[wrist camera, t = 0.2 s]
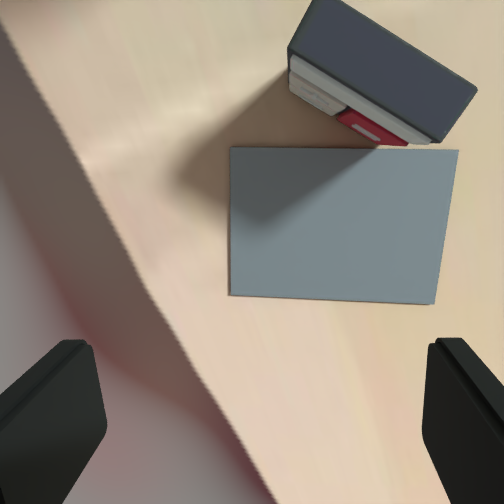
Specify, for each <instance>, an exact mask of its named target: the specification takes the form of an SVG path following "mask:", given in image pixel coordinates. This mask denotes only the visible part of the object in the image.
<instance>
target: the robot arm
mask: <svg viewBox="0 0 504 504" xmlns="http://www.w3.org/2000/svg"><path fill="white" fill-rule="evenodd" d="M106 429H107V419H106V414H105V409H104V404H103V399H102V393H101V388H100V383H99V378H98V373H97V368H96V363H95V358H94V353H93V349H92V347H91V345H87V343H86V341H85V340H62V341H60V342H59V343H58V344H57V345H56V346H55V347H54V348H53V349H51V350H50V351H49V352H48V353H47V354H46V355H45V356H44V357H42V358H41V359H40V360H39V361H38V362H37V363H36V364H34V366H32V367H31V368H30V369H29V370H28V371H26V372H25V373H24V374H23V375H22V376H21V377H20V378H19V379H17V380H16V381H15V382H14V383H13V384H12V385H11V386H10V387H8V388H7V389H6V390H5V391H4V392H3V393H2V394H1V395H0V504H62V503H63V501H64V500H65V498H66V497H67V495H68V493H69V492H70V490H71V489H72V487H73V486H74V484H75V482H76V481H77V479H78V478H79V476H80V474H81V473H82V471H83V469H84V468H85V466H86V465H87V463H88V461H89V460H90V458H91V457H92V455H93V454H94V452H95V450H96V449H97V447H98V446H99V444H100V442H101V441H102V439H103V438H104V436H105V433H106ZM422 436H423V441H424V444H425V446H426V448H427V451H428V453H429V455H430V457H431V460H432V462H433V464H434V466H435V469H436V471H437V473H438V475H439V478H440V480H441V482H442V485H443V487H444V489H445V491H446V494H447V496H448V498H449V500H450V503H451V504H504V386H503V385H502V383H501V382H500V381H499V380H498V379H497V378H496V377H495V375H494V374H493V373H492V372H491V371H490V370H489V368H488V367H487V366H486V365H485V364H484V363H483V362H482V360H481V359H480V358H479V357H478V356H477V355H476V353H475V352H474V351H473V350H472V349H471V348H470V346H469V345H468V344H467V343H466V342H465V341H464V340H463V339H462V338H437V339H436V341H435V343H430V344H429V346H428V355H427V368H426V381H425V393H424V406H423V419H422Z"/></svg>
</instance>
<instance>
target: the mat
mask: <svg viewBox="0 0 504 504" xmlns="http://www.w3.org/2000/svg"><path fill="white" fill-rule="evenodd" d="M458 152H459V150H432V149H352V148H271V147H230V230H231V295H244V296H265V297H287V298H308V299H329V300H350V301H372V302H393V303H414V304H434V303H435V297H436V290H437V284H438V278H439V272H440V265H441V259H442V253H443V246H444V240H445V234H446V228H447V221H448V215H449V209H450V203H451V196H452V190H453V184H454V177H455V171H456V165H457V159H458Z"/></svg>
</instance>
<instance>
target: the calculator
mask: <svg viewBox="0 0 504 504" xmlns="http://www.w3.org/2000/svg"><path fill="white" fill-rule="evenodd" d="M287 59H288V83H289V90H290V91H291V92H292V93H294V94H295V95H297V96H299V97H300V98H302V99H303V100H305V101H307V102H308V103H310V104H312V105H313V106H315V107H316V108H318V109H320V110H321V111H323V112H325V113H326V114H328V115H330V116H332V115H334V114H336V113H337V114H339V116H338V118H337V120H338V121H340V122H341V123H343V124H344V125H346V126H348V127H349V128H351V129H353V130H354V131H356V132H357V133H359V134H361V135H362V136H364V137H366V138H367V139H369V140H371V141H372V142H374V143H376V144H378V145H392V146H407V145H408V144H409V143H410V144H417V145H429V144H430V143H441V142H442V141H443V139H444V138H445V137H446V135H447V134H448V132H449V131H450V130H451V128H452V127H453V125H454V124H455V123H456V121H457V120H458V118H459V117H460V116H461V114H462V113H463V111H464V110H465V109H466V107H467V106H468V104H469V103H470V101H471V100H472V99H473V97H474V96H475V94H476V93H477V91H478V89H477V87H476V86H474V85H473V84H472V83H470V82H468V81H467V80H465V79H464V78H462V77H461V76H459V75H457V74H456V73H454V72H453V71H451V70H450V69H448V68H446V67H445V66H443V65H442V64H440V63H439V62H437V61H435V60H434V59H432V58H431V57H429V56H428V55H426V54H424V53H423V52H421V51H420V50H418V49H417V48H415V47H413V46H412V45H410V44H409V43H407V42H406V41H404V40H402V39H401V38H399V37H398V36H396V35H395V34H393V33H391V32H390V31H388V30H387V29H385V28H384V27H382V26H380V25H379V24H377V23H376V22H374V21H373V20H371V19H369V18H368V17H366V16H365V15H363V14H362V13H360V12H358V11H357V10H355V9H354V8H352V7H351V6H349V5H347V4H346V3H344V2H343V1H341V0H312V2H311V3H310V5H309V7H308V9H307V11H306V13H305V15H304V17H303V18H302V20H301V22H300V24H299V26H298V28H297V30H296V32H295V33H294V35H293V37H292V39H291V41H290V43H289V45H288V47H287Z"/></svg>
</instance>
